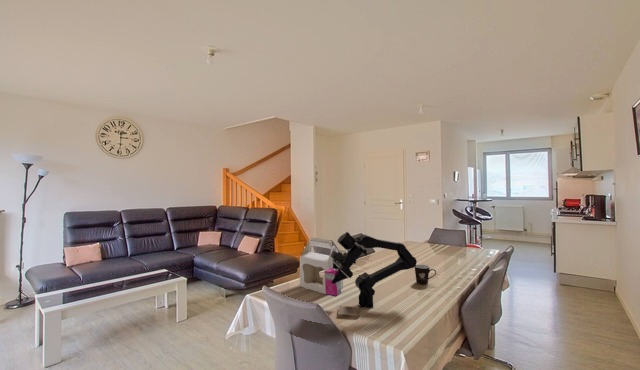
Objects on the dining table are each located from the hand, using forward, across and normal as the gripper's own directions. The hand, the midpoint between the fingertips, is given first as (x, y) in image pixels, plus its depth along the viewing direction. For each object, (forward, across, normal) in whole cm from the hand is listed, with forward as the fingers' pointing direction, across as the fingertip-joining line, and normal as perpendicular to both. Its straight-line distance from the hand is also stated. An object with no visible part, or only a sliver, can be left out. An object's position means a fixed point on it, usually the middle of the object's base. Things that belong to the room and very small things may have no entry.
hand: (330, 280), depth 143 cm
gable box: (+9, -30, +10) cm, 33 cm away
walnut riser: (+5, +8, +14) cm, 17 cm away
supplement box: (+4, 0, +6) cm, 7 cm away
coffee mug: (-34, -24, +54) cm, 69 cm away
